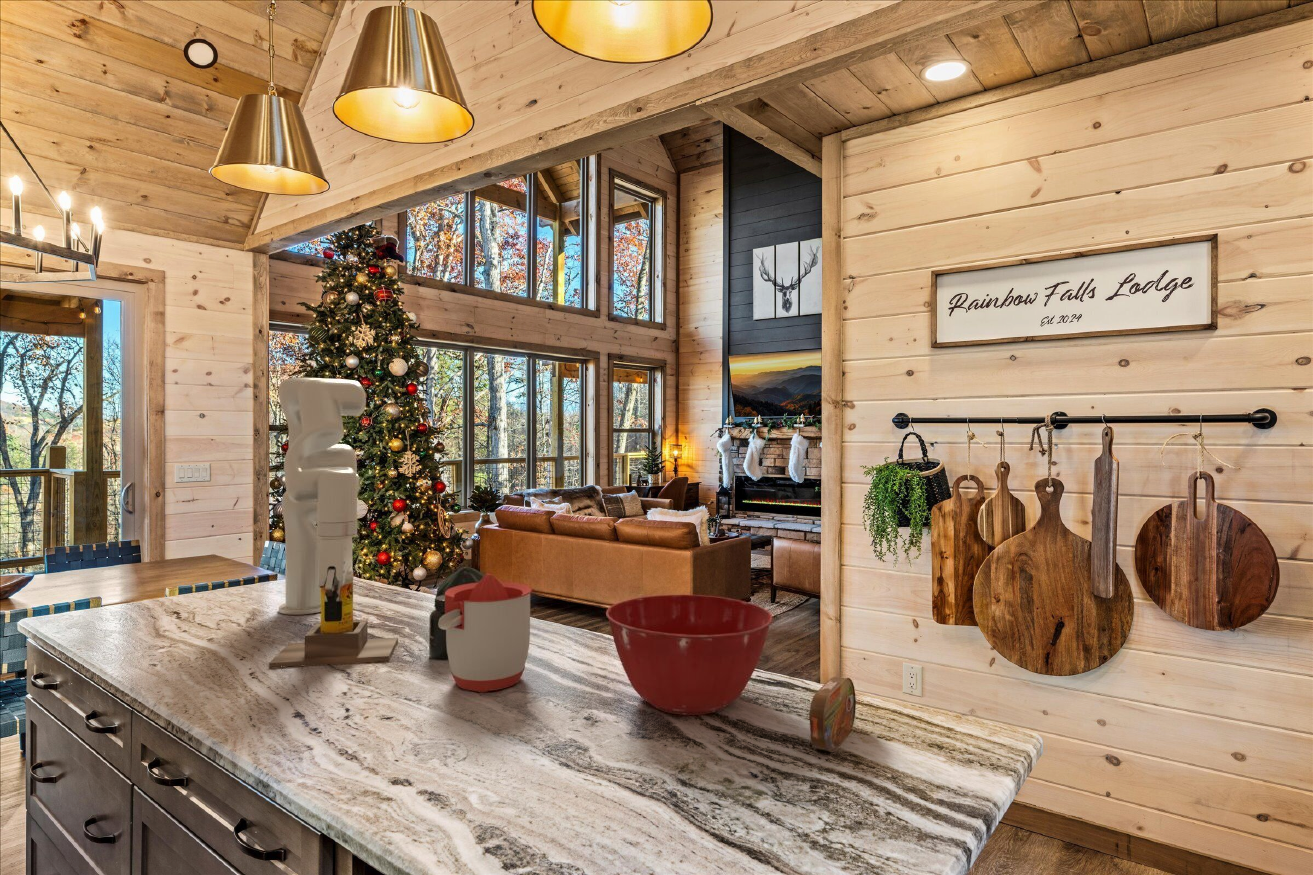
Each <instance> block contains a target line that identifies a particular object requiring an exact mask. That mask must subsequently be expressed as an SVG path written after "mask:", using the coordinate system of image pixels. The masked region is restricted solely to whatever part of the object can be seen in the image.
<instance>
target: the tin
mask: <svg viewBox="0 0 1313 875" xmlns="http://www.w3.org/2000/svg"><path fill="white" fill-rule="evenodd" d="M856 699H857V698H856V688H855V686H854V682H853V679H851V678H850V677H838V676H833V677H831V678H830V679H829V680H828V681H826V683H824V684H823V685H822V687H820V688H819V689H818V690H817V691H816V692H815V693H814V694H813V696H812V699H811V702H810V705H809V712H808V714H809V716H808V717H809V718H808V719H809V731H810V741H811V744H812V746H813V748H815V749H817V750H821V751H826V752H827V751H828V752H830V753H834V752H836V751H837V749H838V748H839V747H840V745H842V743H843V742H844V740H846V738H847V737H848V735H850V733H851V731H852V730H853V726H854V723H855V718H856V710H857V709H856V705H857V704H856V703H857V702H856V701H857V700H856Z"/></svg>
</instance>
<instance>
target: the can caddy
mask: <svg viewBox="0 0 1313 875" xmlns="http://www.w3.org/2000/svg"><path fill="white" fill-rule="evenodd" d="M368 621H369V620H368V619H364V620H353V632H341V633H321V621H320V622H316V623H315V624H314V625H313V626H312V628H310V629H309V631H308V632H307V633H305V635H304V642H293V643H292V642H289V643H288V644H286V645H285V647H283V648H282V649H281V650H280V651H279V652H278V653H277V655H275V656H274V657H273V659H271V661H270V662H268V668H269V667H280V668H284V667H283V666H296V667H302V666H301V665H313V666H324V665H325V664H326V666H328V665H327V664H330V665H341V664H342V665H343V664H361V663H375V662H376V663H377V662H379V661H380V662H390V659H391V657H392V656H393V653H394V651H395V650H396V647H397V645H398V643H399V637H384V638H383V637H382V638H381V637H380V638H368V636H369V635H368V629H369V628H368V627H369V625H368V623H369V622H368ZM281 666H282V667H281Z"/></svg>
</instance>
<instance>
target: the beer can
mask: <svg viewBox="0 0 1313 875" xmlns="http://www.w3.org/2000/svg"><path fill="white" fill-rule="evenodd" d="M353 569H354V568H353V566H352V567H351V565H350V566H349V568H348V572H347V578H346V583H345V585H344V586H343V587H341V598H340V601H342V620H341V621H334V622H325V620H324V602H325V585H326V584H325V585H324V586H323V588H321V612H320V622H321V633H341V632H353V621H354V570H353ZM326 580H327V579H326ZM325 583H326V581H325ZM338 584H339V583H334V586H338ZM336 592H337V590H336ZM336 594H337V593H336Z"/></svg>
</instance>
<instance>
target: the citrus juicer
mask: <svg viewBox="0 0 1313 875" xmlns="http://www.w3.org/2000/svg"><path fill="white" fill-rule="evenodd" d="M484 575H485V576H484V577H483V578H482V579H481V580H480V581H479V582H478V583H470V584H464V585H459V586H456V587H453V588H450V589H448V590H447V591H446V592H445V615H443V616H442V617H441V618H440V619H439V622H438V626H439V628H441V629H443V630H446V645H447V654H448V659H449V660H448V663H449V666H450V670H451V671H450V672H451V675H452V677H453V680H454V682H455V684H456V686H457V687H459V688H461V689H463V690H467V691H473V692H474V691H475V692H478V693H488V692H489V691H497V690H501V689H505V688H509V687H512V686H514V685H516V684H517V683H518V682H519V681H521V679H522V675H523V674H524V671H525V669H526V668H525V667H526V663H527V660H528V655H529V649H530V639H531V593H532V591H533V590H532V588H531V586H529V585H527V584H525V583H519V582H514V581H513V582H511V581H499V580H498V579H497V577H495V576H494V575H493V574H491V573H487V574H484Z"/></svg>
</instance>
